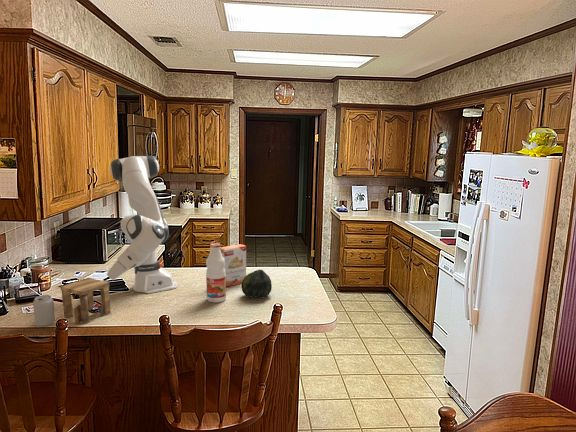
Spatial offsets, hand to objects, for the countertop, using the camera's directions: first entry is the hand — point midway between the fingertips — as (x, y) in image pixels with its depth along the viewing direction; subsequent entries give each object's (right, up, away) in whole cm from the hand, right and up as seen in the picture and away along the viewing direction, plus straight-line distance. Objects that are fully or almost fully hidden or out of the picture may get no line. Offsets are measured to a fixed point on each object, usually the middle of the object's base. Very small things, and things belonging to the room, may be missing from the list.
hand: (114, 277), depth 183 cm
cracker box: (+43, -11, +56) cm, 72 cm away
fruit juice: (+38, -16, +33) cm, 52 cm away
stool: (-17, -19, +13) cm, 28 cm away
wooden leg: (-13, -19, +8) cm, 25 cm away
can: (-31, -21, +4) cm, 37 cm away
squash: (+57, -15, +37) cm, 70 cm away
